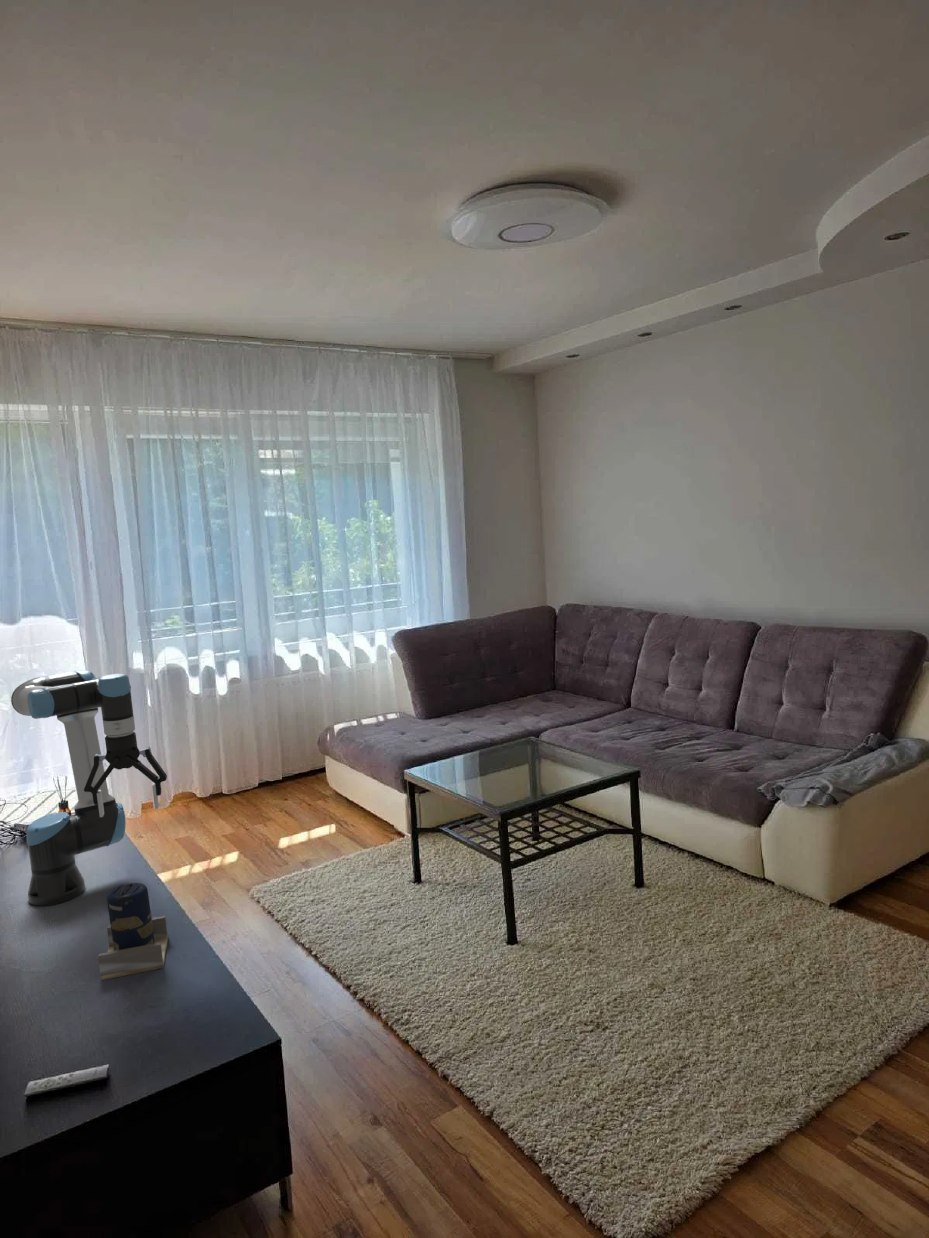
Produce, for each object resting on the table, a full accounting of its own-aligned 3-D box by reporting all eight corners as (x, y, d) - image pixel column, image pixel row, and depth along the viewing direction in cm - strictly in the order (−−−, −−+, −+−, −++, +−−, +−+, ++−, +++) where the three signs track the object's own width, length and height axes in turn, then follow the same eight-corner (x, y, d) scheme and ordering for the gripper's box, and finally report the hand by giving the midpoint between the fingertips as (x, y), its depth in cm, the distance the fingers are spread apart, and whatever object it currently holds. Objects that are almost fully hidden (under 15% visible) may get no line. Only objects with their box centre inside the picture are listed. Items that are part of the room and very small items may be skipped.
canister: (163, 945, 208) (155, 878, 206) (138, 966, 199) (129, 896, 197) (132, 941, 211) (124, 875, 209) (106, 961, 202) (96, 892, 200)
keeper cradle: (110, 947, 211) (107, 925, 210) (168, 937, 214) (165, 915, 213) (101, 979, 196) (97, 956, 195) (163, 967, 200) (160, 944, 199)
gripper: (65, 743, 208) (76, 823, 211) (169, 730, 215) (178, 808, 218) (71, 736, 216) (81, 813, 218) (171, 723, 222) (180, 799, 225)
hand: (129, 811), depth 218 cm, fingers open, 13 cm apart
